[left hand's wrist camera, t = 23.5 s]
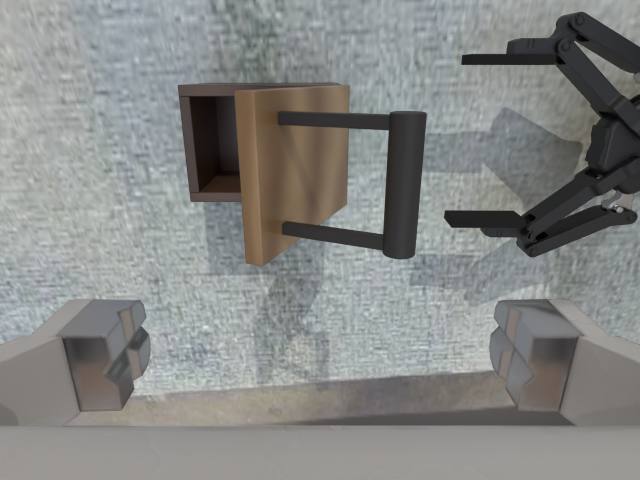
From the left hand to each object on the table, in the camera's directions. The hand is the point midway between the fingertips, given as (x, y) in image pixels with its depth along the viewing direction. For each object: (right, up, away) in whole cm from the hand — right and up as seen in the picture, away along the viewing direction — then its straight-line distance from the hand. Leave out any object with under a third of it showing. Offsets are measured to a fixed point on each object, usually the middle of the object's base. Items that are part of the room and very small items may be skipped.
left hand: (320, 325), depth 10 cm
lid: (-2, +7, +19) cm, 20 cm away
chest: (-5, +13, +34) cm, 37 cm away
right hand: (+12, +10, +28) cm, 32 cm away
